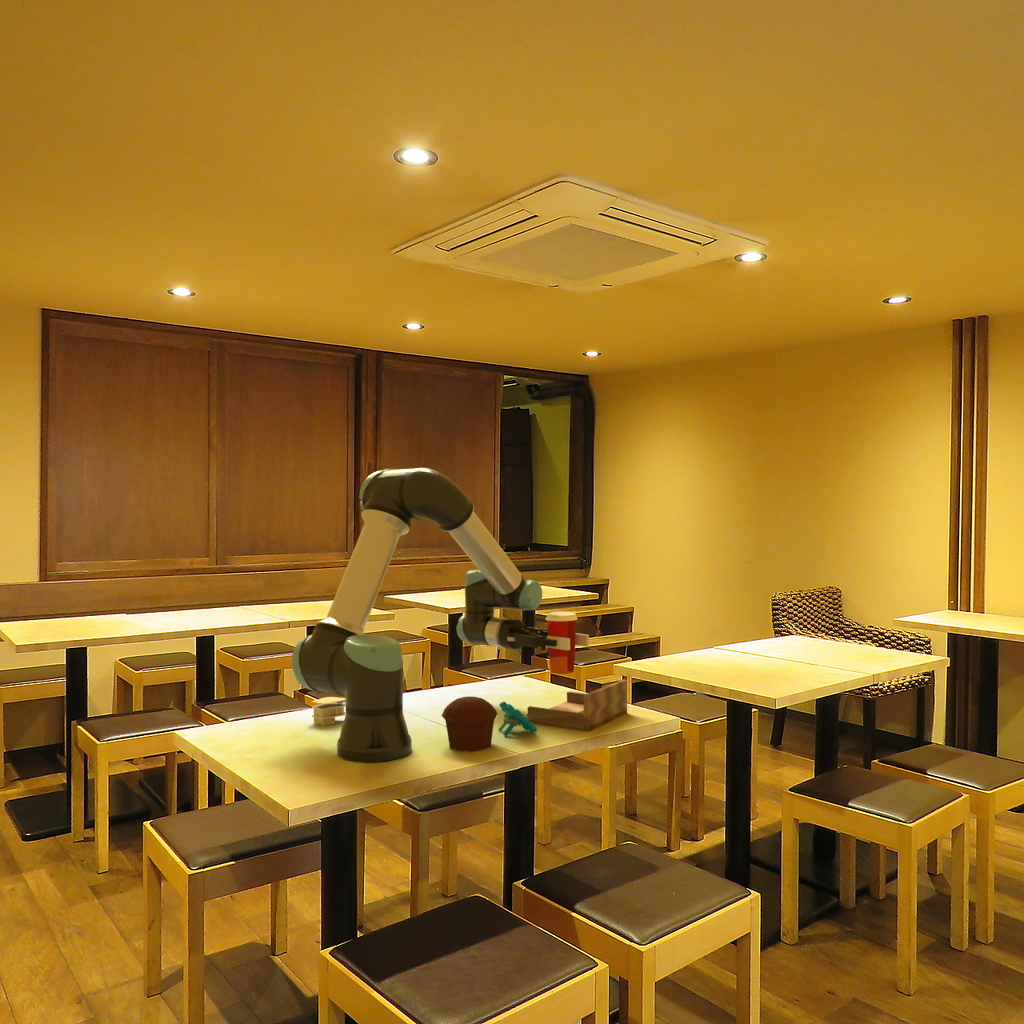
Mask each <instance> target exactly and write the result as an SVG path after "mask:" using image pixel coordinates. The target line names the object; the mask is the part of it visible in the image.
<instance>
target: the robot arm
mask: <svg viewBox="0 0 1024 1024" xmlns="http://www.w3.org/2000/svg"><path fill="white" fill-rule="evenodd" d="M358 498H359V500H360V501H359V505H360V508H361V510H362V511H361V515H360V516H361V518H362V520H363V523H364V524H363V526H362V528H361V532H360V534H359V536H358V539H357V541H356V543H355V546H354V549H353V551H352V553H351V556H350V559H349V561H348V564H347V567H346V569H345V571H344V573H343V576H342V578H341V581H340V583H339V586H338V588H337V591H336V594H335V596H334V598H333V601H332V604H331V605H330V608H329V610H328V613H327V615H326V617H325V618H324V619H322V620H320V621H317V622H316V624H315V626H314V629H313V631H312V634H311V635H306V636H304V638H302V639H300V640H299V641H297V644H296V645H295V647H294V649H293V652H292V654H291V655H292V657H291V669H292V671H293V674H294V678H295V679H296V681H297V682H298V683H299V684H300V685H301V686H302V687H303V688H305V689H307V690H310V691H314V692H316V693H318V694H321V693H322V694H328V695H329V694H330V695H336V696H339V697H344V698H345V700H344V701H345V705H346V706H345V713H346V715H344V719H343V723H342V727H341V730H340V733H339V734H340V735H339V738H338V740H337V744H336V750H337V751H336V752H337V753H336V754H337V756H338V757H339V758H341V759H343V760H346V761H349V762H350V761H351V762H358V763H359V762H362V763H373V762H375V763H378V762H386V761H391V760H396V759H400V758H402V757H406V756H407V755H409V754H411V752H412V751H413V750H412V749H413V748H412V747H413V745H412V743H413V742H412V738H411V735H410V734H409V731H408V729H409V728H408V726H407V723H406V719H405V715H404V704H403V703H404V702H403V700H404V696H403V694H404V658H403V651H402V650H403V648H402V646H401V643H400V642H398V640H396V639H394V638H392V637H389V636H385V635H378V634H376V635H374V634H365V632H364V631H365V627H366V625H367V623H368V621H369V619H370V615H371V613H372V610H373V608H374V604H375V603H376V600H377V597H378V594H379V591H380V589H381V586H382V583H383V581H384V578H385V576H386V573H387V571H388V568H389V566H390V562H391V560H392V557H393V555H394V553H395V550H396V548H397V545H398V542H399V539H400V537H403V536H404V535H407V534H408V533H409V532H410V530H411V527H412V524H413V521H414V520H419V519H420V520H423V519H424V520H428V521H431V522H432V523H434V524H435V525H436V526H437V527H438V528H439V529H440V531H442V532H448V534H449V535H450V536H451V537H452V538H453V539H454V541H455V543H457V544H458V546H459V547H460V549H461V550H462V551H463V552H464V553H465V554H466V555H467V557H468V559H470V561H471V562H472V563H473V564H474V566H475V567H476V568H477V569H474V570H473V569H471V570H469V571H467V572H466V573H465V580H464V597H465V598H464V599H465V601H464V602H465V604H464V605H465V607H464V608H465V612H464V613H465V614H463V615H462V616H461V617H459V618H458V621H457V622H458V623H457V625H456V633H457V636H458V637H459V639H460V640H461V641H462V642H465V643H469V644H473V645H479V646H487V647H488V646H489V647H496V649H497V650H501V649H507V650H508V649H509V650H515V651H517V650H519V649H522V648H523V647H529V648H535V649H538V648H539V647H540V651H546V650H547V649H546V648H548V649H549V648H555V649H562V650H570V638H563V637H554V636H548V629H547V628H544V627H540V628H536V627H533V626H530V627H529V626H528V627H527V625H526V624H525V622H524V621H522V620H520V619H515V618H514V619H513V618H507V617H506V618H505V617H498V616H495V608H496V609H507V610H519V611H534V610H536V609H538V607H540V604H541V602H542V600H543V588H542V586H541V584H540V583H539V582H538V581H536V580H532V579H526V578H525V577H524V576H523V574H522V573H521V572H520V570H519V568H518V567H516V566H515V564H514V563H513V561H512V560H511V559H510V557H509V556H508V555H507V554H506V552H505V551H504V549H503V548H502V547H501V546H500V545H499V543H498V542H497V540H496V539H495V538H494V536H493V535H492V534H491V533H490V531H489V529H488V528H487V527H486V526H485V525H484V523H483V522H482V520H481V519H480V518H479V516H478V515H477V514H476V513H475V506H474V503H473V501H472V500H471V499H470V497H469V496H467V494H466V493H465V492H464V490H462V488H460V486H459V485H457V484H456V483H455V482H454V481H452V479H450V478H449V477H447V475H444V474H443V473H441V472H439V471H437V470H435V469H431V468H429V467H417V468H404V469H402V468H400V469H397V468H386V469H383V470H382V469H381V470H377V471H375V472H373V473H371V474H369V475H368V476H367V477H366V479H365V480H364V481H363V482H362V484H361V487H360V490H359V497H358ZM575 646H580V647H590V635H589V634H584V633H577V632H576V639H575Z"/></svg>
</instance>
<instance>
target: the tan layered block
mask: <svg viewBox="0 0 1024 1024" xmlns="http://www.w3.org/2000/svg"><path fill="white" fill-rule="evenodd" d="M343 701H345V697H340V696H338V697H337V696H326V697H322V698H318V699H315V700H313V701H311V702H313V703H318V704H316V705H314V706H311V709H313V714H312V715H311V718H313V724H314V723H317V724H316V725H319V724H322V725H321V726H326V725H325V724H327V725H330V724H333V723H332V722H334V723H336V718H337V717H342V716H343V717H344V716H345V715H346V711H345V707H346V705H345V703H344V702H343ZM329 723H330V724H329Z"/></svg>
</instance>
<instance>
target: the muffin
mask: <svg viewBox="0 0 1024 1024" xmlns="http://www.w3.org/2000/svg"><path fill="white" fill-rule="evenodd" d="M497 716H498V712H497V711H496V708H495V707H494V705H492V704H491V703H490V702H489V701H487V700H486V699H485V698H482V697H478V696H462V697H458V698H456V699H455V700H453V701H451V702H449V704H448V705H446V707H444V710H443V712H442V713H441V717H442V718H443V719H444V720H445V725H446V731H447V738H448V743H449V744H448V745H449V749H452V750H455V751H458V752H468V753H472V752H478V751H485V750H487V749H489V748H491V747H492V741H493V740H492V739H493V730H494V723H495V719H496V718H497Z"/></svg>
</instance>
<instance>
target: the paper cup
mask: <svg viewBox="0 0 1024 1024" xmlns="http://www.w3.org/2000/svg"><path fill="white" fill-rule="evenodd" d="M545 620H546V627H547V628H546V629H548V636H554V637H563V638H570V650H562V649H555V648H548V654H549V656H548V657H549V667H550V672H551V673H552V674H558V675H566V674H568V675H569V674H572V673H574V671H575V659H576V658H575V655H576V645H575V639H576V633H577V632H576V630H577V620H578V617H577V614H576V613H575V612H572V611H552V612H549V613H547V615H546V618H545Z"/></svg>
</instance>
